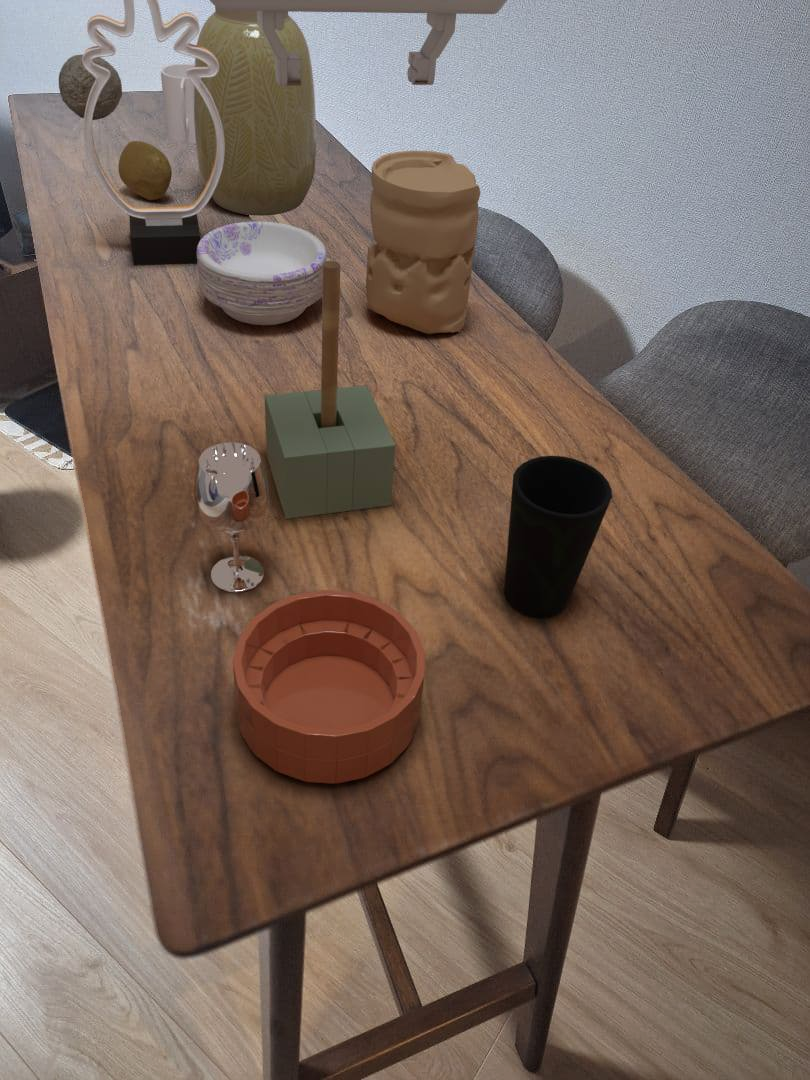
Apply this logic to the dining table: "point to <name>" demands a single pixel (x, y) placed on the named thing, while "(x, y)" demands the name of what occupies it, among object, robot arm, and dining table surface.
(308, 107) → the vase
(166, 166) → the potato
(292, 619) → the orange round piece
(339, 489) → the stick stand
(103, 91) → the decorative stone
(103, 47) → the lamp
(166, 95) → the cup
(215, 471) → the wineglass
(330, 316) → the stirring stick
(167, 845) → the dining table surface
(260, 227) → the paper bowls
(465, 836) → the dining table surface
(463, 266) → the container
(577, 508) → the cup
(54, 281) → the dining table surface
